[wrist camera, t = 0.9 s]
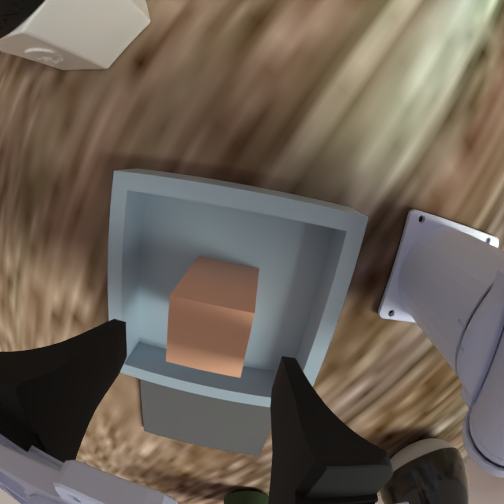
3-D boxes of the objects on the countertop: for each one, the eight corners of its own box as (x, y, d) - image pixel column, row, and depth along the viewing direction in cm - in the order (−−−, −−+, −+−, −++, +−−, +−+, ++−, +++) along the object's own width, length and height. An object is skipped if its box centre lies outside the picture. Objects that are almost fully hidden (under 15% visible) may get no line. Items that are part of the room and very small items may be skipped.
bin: (351, 207, 18) (368, 217, 15) (298, 380, 22) (302, 411, 19) (139, 168, 18) (113, 170, 15) (130, 345, 22) (112, 370, 19)
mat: (283, 387, 23) (284, 391, 22) (259, 452, 25) (259, 455, 25) (141, 357, 23) (139, 361, 22) (145, 427, 25) (144, 430, 25)
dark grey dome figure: (444, 455, 26) (477, 536, 11) (374, 482, 27) (392, 572, 13) (456, 412, 23) (506, 511, 9) (372, 446, 25) (400, 562, 10)
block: (259, 268, 19) (254, 313, 13) (248, 321, 20) (240, 377, 15) (198, 256, 19) (169, 295, 13) (191, 310, 20) (165, 361, 15)
